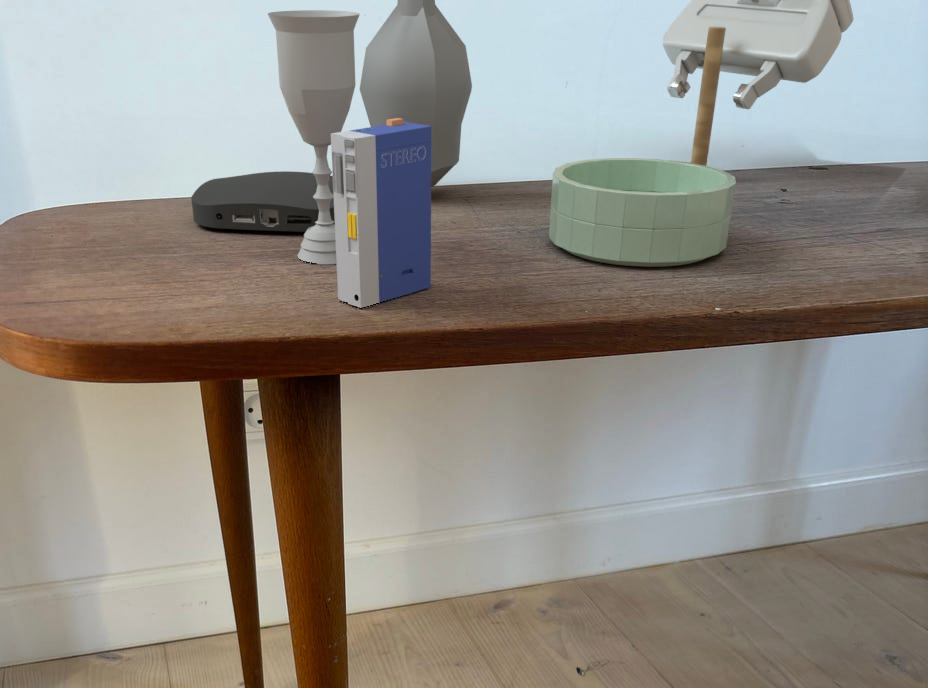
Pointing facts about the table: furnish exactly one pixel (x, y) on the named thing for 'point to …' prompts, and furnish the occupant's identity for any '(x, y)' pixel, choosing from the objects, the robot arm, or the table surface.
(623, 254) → the bowl
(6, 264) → the table surface
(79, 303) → the table surface
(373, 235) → the walkman
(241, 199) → the media streaming box
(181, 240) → the table surface
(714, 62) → the stirring stick
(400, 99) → the grey faceted vase
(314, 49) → the chalice
